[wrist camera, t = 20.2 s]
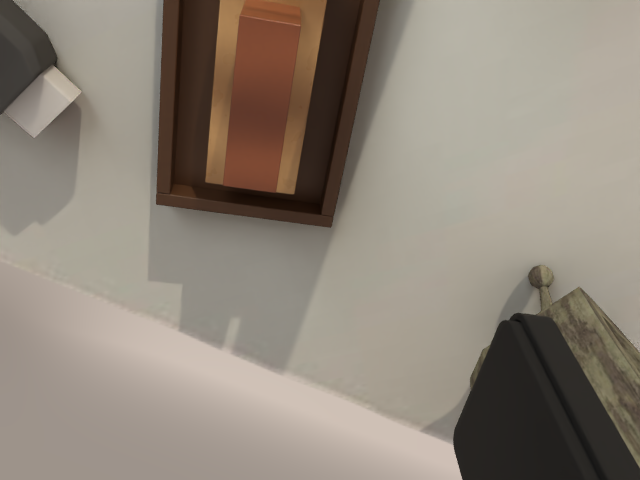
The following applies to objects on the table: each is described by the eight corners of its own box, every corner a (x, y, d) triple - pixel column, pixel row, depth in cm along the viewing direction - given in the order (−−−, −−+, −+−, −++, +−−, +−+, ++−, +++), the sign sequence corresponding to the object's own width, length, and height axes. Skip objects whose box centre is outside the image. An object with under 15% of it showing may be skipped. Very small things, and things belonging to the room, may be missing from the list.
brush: (230, -61, 29) (214, -44, 24) (329, -42, 30) (338, -21, 24) (211, 160, 36) (194, 218, 30) (294, 172, 36) (294, 231, 30)
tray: (329, 211, 38) (331, 228, 37) (162, 188, 37) (156, 204, 35) (394, -98, 29) (400, -95, 28) (176, -142, 28) (168, -143, 26)
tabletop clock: (644, 351, 46) (944, 765, 25) (543, 410, 49) (734, 823, 28) (543, 237, 40) (823, 650, 19) (436, 312, 43) (573, 740, 22)
